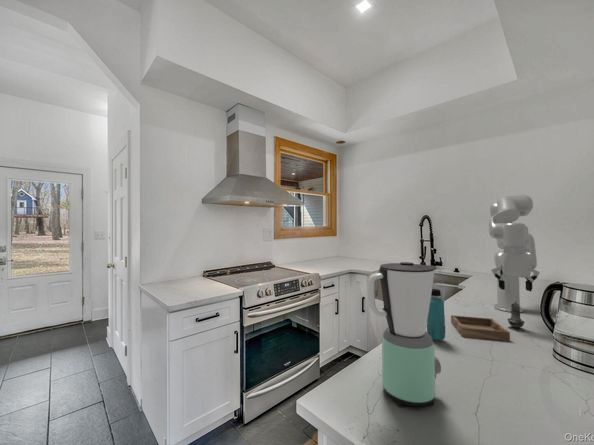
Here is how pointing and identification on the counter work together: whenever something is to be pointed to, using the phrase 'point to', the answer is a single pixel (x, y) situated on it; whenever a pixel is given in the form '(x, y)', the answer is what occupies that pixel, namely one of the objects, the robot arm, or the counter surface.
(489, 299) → the counter surface
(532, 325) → the counter surface
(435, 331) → the beverage bottle
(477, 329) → the tray
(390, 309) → the mint green blender
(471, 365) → the counter surface
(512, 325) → the dark grey rounded piece
